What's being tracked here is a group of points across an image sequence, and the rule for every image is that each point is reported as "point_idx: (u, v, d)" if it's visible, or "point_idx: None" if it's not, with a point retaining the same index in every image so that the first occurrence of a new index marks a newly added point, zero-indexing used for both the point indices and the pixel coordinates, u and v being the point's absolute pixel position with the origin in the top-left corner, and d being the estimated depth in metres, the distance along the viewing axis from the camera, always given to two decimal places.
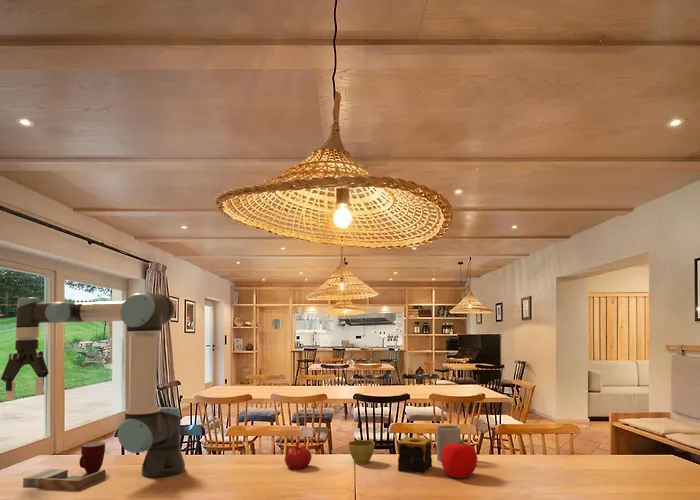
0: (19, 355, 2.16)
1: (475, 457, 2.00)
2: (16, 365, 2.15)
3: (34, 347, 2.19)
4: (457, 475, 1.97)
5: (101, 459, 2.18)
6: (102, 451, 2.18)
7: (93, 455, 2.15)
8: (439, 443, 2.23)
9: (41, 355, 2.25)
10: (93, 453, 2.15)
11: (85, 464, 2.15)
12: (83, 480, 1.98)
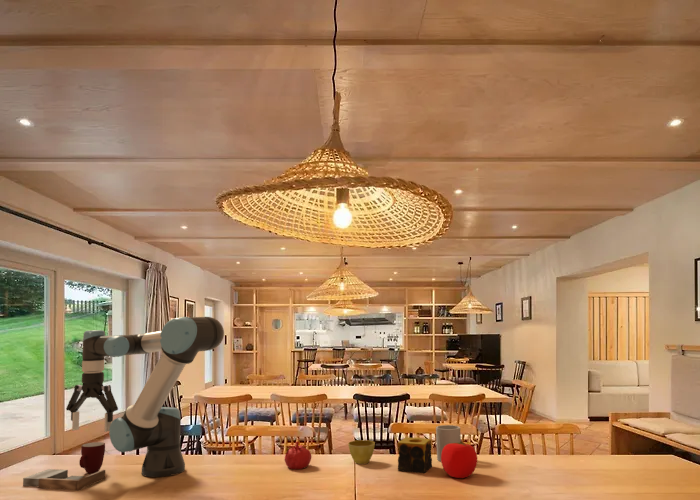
0: (81, 387, 2.20)
1: (475, 457, 2.00)
2: None
3: (85, 381, 2.17)
4: (457, 475, 1.97)
5: (101, 459, 2.18)
6: (102, 451, 2.18)
7: (93, 455, 2.15)
8: (439, 443, 2.23)
9: (105, 390, 2.18)
10: (93, 453, 2.15)
11: (85, 464, 2.15)
12: (83, 480, 1.98)
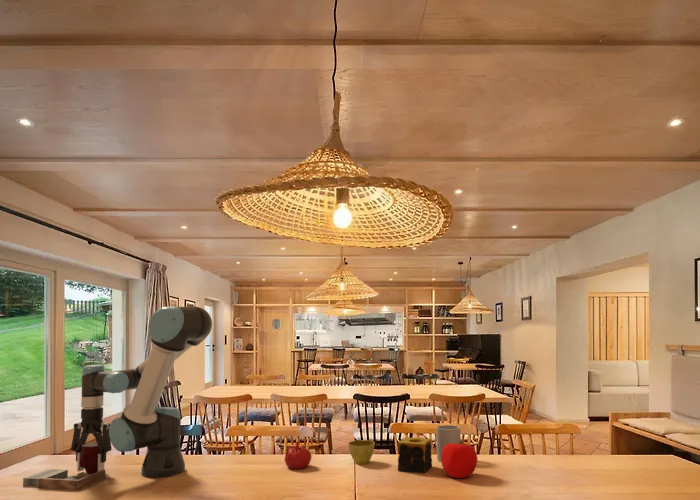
0: (80, 424, 2.19)
1: (475, 457, 2.00)
2: None
3: (84, 417, 2.16)
4: (457, 475, 1.97)
5: None
6: None
7: (93, 455, 2.15)
8: (439, 443, 2.23)
9: (103, 428, 2.16)
10: (93, 453, 2.15)
11: (85, 464, 2.15)
12: (83, 480, 1.98)
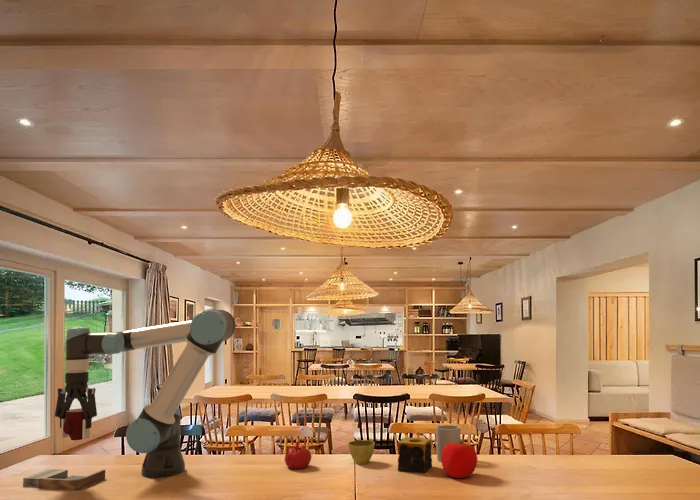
0: (65, 389, 2.09)
1: (475, 457, 2.00)
2: None
3: (68, 381, 2.06)
4: (457, 475, 1.97)
5: None
6: None
7: (77, 421, 2.05)
8: (439, 443, 2.23)
9: (88, 393, 2.06)
10: (78, 419, 2.05)
11: (69, 430, 2.05)
12: (83, 480, 1.98)
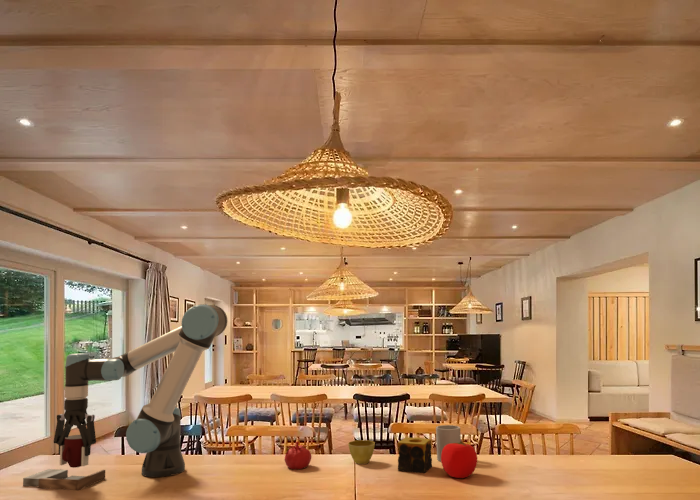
0: (64, 415, 2.08)
1: (475, 457, 2.00)
2: None
3: (67, 408, 2.04)
4: (457, 475, 1.97)
5: None
6: None
7: (76, 448, 2.04)
8: (439, 443, 2.23)
9: (87, 420, 2.05)
10: (77, 446, 2.04)
11: (68, 457, 2.04)
12: (83, 480, 1.98)
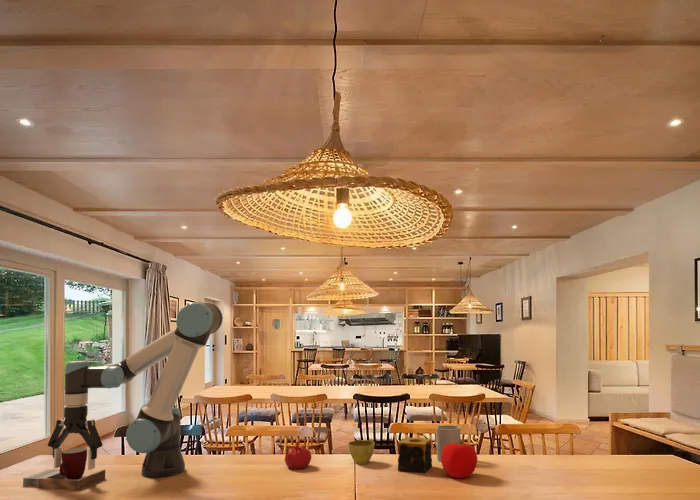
0: (63, 422, 2.08)
1: (475, 457, 2.00)
2: None
3: (67, 416, 2.04)
4: (457, 475, 1.97)
5: (83, 466, 2.06)
6: (84, 457, 2.06)
7: (73, 462, 2.04)
8: (439, 443, 2.23)
9: (88, 425, 2.05)
10: (74, 460, 2.04)
11: (66, 472, 2.04)
12: (83, 480, 1.98)
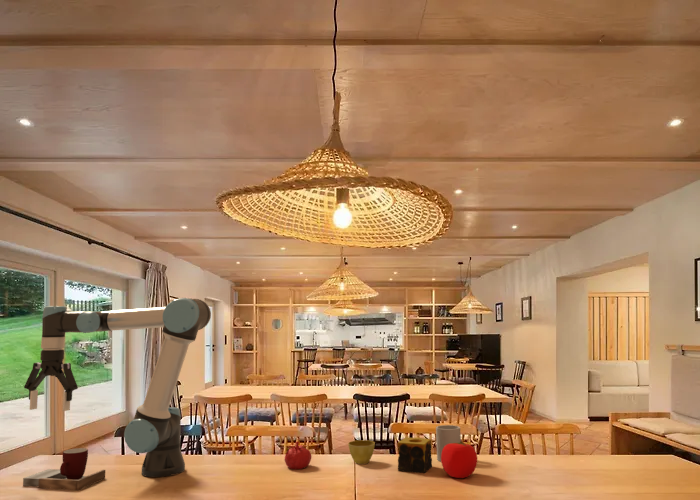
0: (40, 365, 2.12)
1: (475, 457, 2.00)
2: None
3: (43, 358, 2.08)
4: (457, 475, 1.97)
5: (83, 466, 2.06)
6: (84, 458, 2.07)
7: (74, 462, 2.04)
8: (439, 443, 2.23)
9: (64, 368, 2.09)
10: (75, 460, 2.04)
11: (66, 471, 2.04)
12: (83, 480, 1.98)
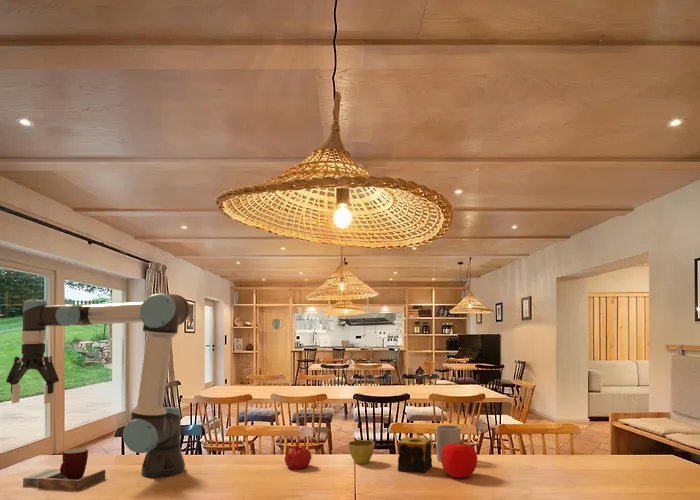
0: (21, 359, 2.14)
1: (475, 457, 2.00)
2: None
3: (24, 352, 2.10)
4: (457, 475, 1.97)
5: (83, 466, 2.06)
6: (84, 458, 2.07)
7: (74, 462, 2.04)
8: (439, 443, 2.23)
9: (45, 361, 2.11)
10: (75, 460, 2.04)
11: (66, 471, 2.04)
12: (83, 480, 1.98)
